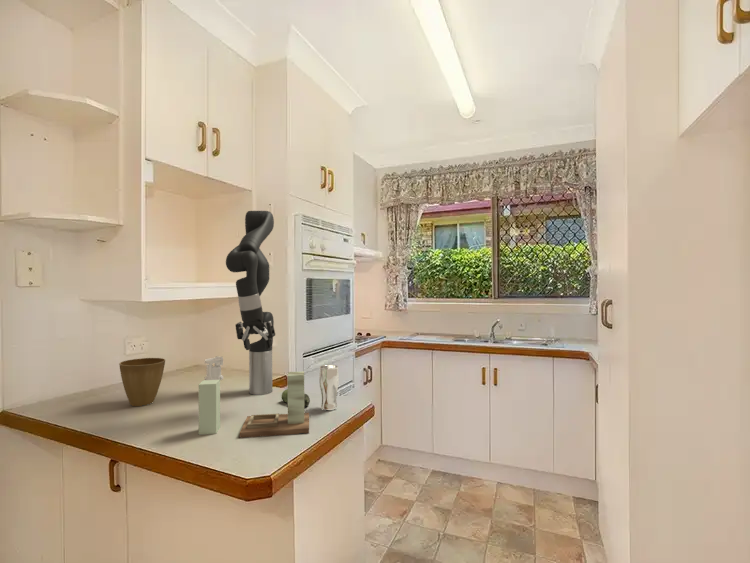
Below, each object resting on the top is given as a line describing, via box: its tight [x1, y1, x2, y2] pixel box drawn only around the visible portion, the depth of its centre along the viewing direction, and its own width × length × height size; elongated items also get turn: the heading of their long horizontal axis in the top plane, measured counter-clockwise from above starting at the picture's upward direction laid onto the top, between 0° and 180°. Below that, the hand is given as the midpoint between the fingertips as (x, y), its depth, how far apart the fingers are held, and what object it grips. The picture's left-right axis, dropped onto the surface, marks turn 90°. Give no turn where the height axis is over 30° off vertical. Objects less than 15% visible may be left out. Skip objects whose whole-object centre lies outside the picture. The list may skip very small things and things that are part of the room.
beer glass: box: [318, 364, 340, 411], centre depth 138 cm, size 7×7×15 cm
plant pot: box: [118, 357, 166, 407], centre depth 145 cm, size 15×15×16 cm
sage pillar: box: [198, 379, 221, 436], centre depth 118 cm, size 5×5×15 cm
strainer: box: [204, 355, 224, 381], centre depth 159 cm, size 7×7×15 cm
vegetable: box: [281, 388, 311, 408], centre depth 143 cm, size 14×5×5 cm, turn 50°
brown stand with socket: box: [239, 371, 310, 439], centre depth 121 cm, size 14×20×16 cm
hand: (258, 349), depth 141 cm, fingers open, 8 cm apart
